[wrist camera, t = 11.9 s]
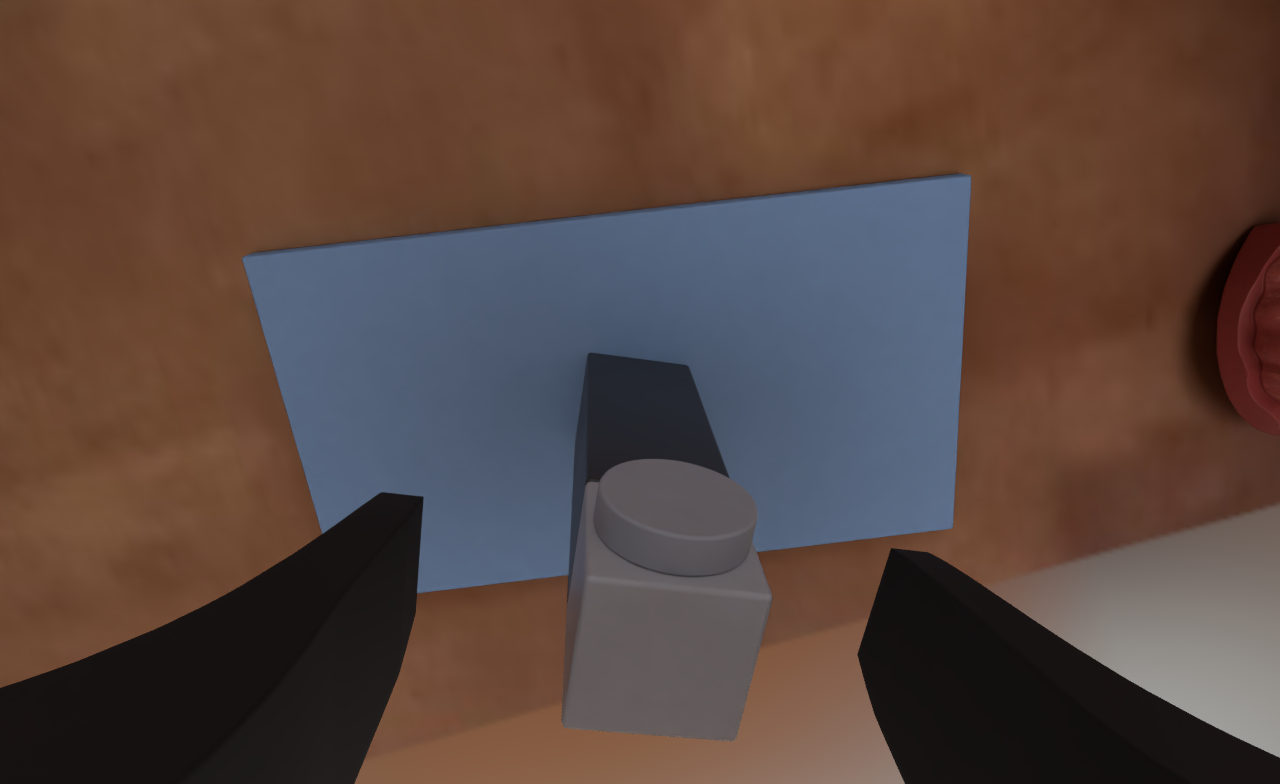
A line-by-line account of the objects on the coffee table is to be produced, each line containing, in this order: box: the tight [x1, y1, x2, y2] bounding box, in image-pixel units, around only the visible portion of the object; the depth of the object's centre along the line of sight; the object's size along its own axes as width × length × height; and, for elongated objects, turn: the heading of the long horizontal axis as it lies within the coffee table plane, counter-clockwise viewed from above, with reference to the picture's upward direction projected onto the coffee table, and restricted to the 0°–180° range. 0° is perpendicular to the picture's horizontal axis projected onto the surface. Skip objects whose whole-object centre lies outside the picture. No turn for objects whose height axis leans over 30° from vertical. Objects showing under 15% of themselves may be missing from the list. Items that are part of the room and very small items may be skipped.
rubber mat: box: [242, 173, 971, 593], centre depth 18 cm, size 16×9×1 cm, turn 96°
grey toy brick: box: [561, 352, 773, 741], centre depth 14 cm, size 2×3×9 cm
